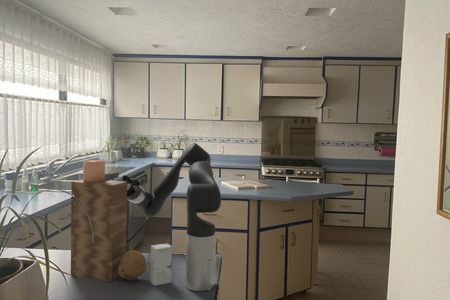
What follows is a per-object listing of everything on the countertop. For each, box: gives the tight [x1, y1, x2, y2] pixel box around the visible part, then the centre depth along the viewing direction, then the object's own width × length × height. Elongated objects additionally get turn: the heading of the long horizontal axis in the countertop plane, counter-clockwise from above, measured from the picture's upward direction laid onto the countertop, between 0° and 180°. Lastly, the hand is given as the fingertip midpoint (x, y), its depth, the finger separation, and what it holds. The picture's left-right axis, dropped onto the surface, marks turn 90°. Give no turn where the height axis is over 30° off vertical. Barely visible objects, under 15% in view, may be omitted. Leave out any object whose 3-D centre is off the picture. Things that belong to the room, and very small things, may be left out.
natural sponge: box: [118, 249, 148, 281], centre depth 116 cm, size 9×9×10 cm
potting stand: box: [70, 179, 128, 283], centre depth 121 cm, size 16×8×32 cm, turn 74°
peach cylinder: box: [82, 159, 120, 183], centre depth 124 cm, size 7×16×7 cm, turn 164°
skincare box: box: [149, 243, 173, 286], centre depth 116 cm, size 6×4×12 cm
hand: (113, 176), depth 131 cm, fingers open, 8 cm apart
